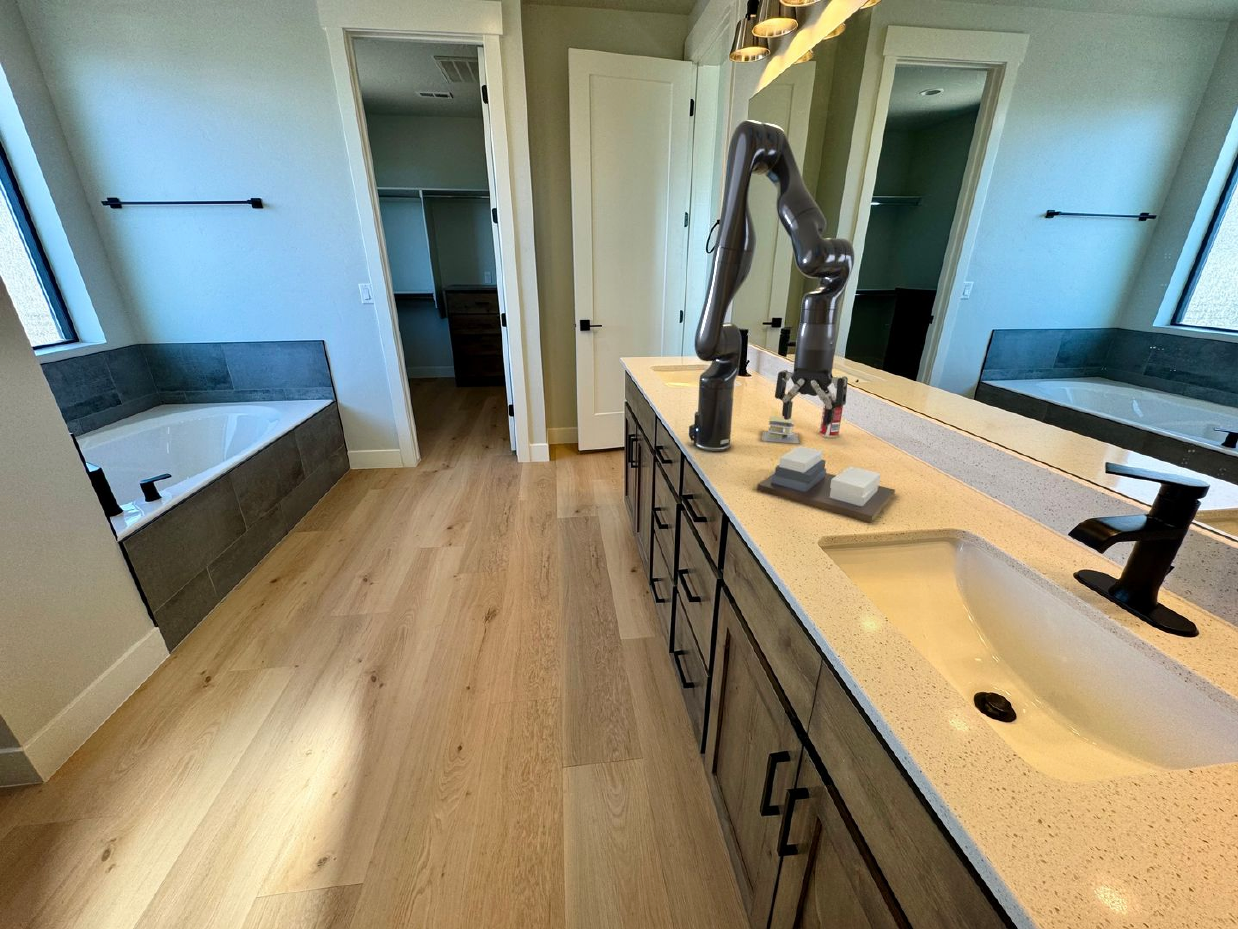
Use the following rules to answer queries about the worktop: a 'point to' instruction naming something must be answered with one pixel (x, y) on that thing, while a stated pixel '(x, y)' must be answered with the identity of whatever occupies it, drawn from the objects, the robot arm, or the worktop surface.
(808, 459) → the frosted white slab
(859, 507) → the walnut board
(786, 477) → the grey books
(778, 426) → the stacked layers on plate
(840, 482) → the white books
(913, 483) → the worktop surface
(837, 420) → the soda can
